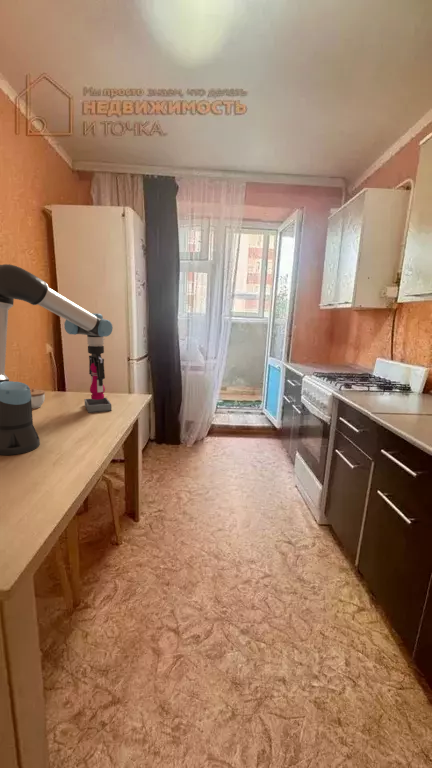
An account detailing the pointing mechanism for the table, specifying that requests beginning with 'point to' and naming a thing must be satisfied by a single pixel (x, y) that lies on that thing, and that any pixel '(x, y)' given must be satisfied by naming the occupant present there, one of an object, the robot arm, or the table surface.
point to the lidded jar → (37, 398)
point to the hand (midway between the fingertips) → (97, 390)
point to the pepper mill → (95, 385)
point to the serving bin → (97, 405)
